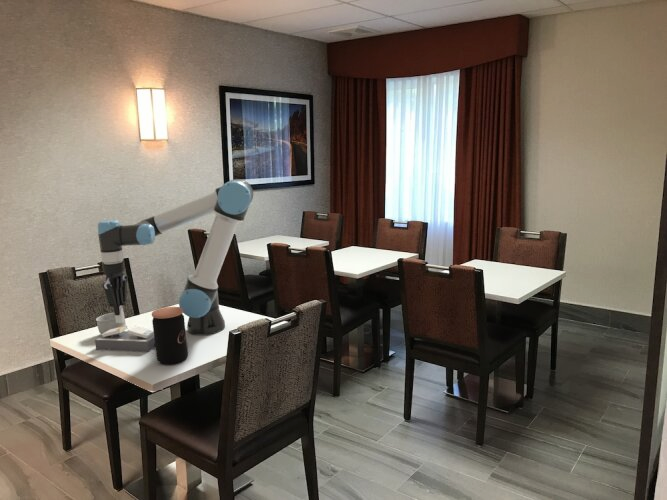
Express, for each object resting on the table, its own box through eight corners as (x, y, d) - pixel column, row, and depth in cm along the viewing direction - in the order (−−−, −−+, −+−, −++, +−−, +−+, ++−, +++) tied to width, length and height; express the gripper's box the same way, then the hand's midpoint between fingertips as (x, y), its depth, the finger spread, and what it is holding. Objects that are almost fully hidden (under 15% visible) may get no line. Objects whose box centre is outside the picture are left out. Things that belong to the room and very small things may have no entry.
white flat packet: (153, 333, 208) (154, 330, 208) (146, 338, 203) (147, 335, 203) (134, 328, 209) (135, 325, 209) (127, 333, 205) (127, 329, 204)
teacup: (116, 339, 216) (114, 320, 215) (92, 338, 219) (90, 319, 217) (136, 327, 230) (133, 309, 228) (113, 327, 232) (110, 309, 230)
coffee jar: (185, 364, 188) (180, 314, 185) (153, 367, 187) (147, 317, 184) (190, 352, 199) (185, 305, 195) (161, 355, 198) (155, 307, 194)
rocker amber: (128, 328, 210) (126, 324, 210) (120, 332, 205) (119, 329, 205) (110, 332, 212) (109, 329, 212) (102, 337, 207) (101, 333, 207)
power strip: (171, 342, 210) (170, 330, 209) (158, 352, 201) (157, 339, 200) (111, 340, 216) (110, 328, 215) (96, 349, 206) (94, 337, 205)
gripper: (114, 258, 210) (121, 316, 214) (92, 265, 197) (101, 327, 202) (131, 258, 208) (138, 317, 213) (111, 266, 196) (119, 328, 200)
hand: (120, 322), depth 207 cm, fingers closed
